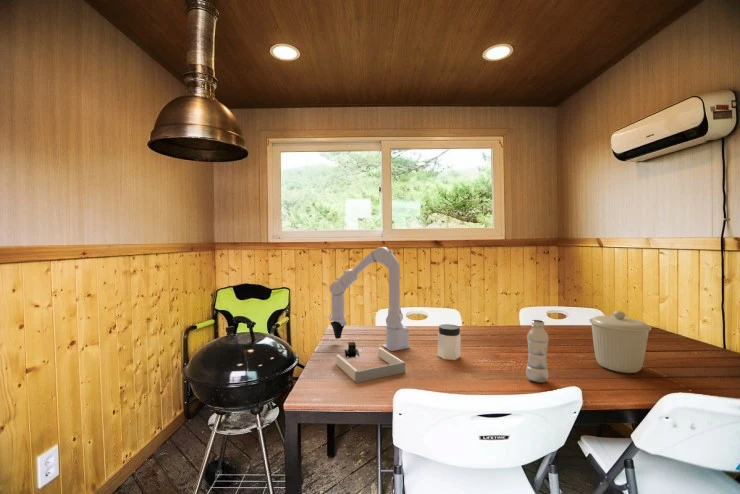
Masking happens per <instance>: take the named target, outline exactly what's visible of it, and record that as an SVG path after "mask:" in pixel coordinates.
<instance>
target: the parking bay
mask: <svg viewBox="0 0 740 494" xmlns="http://www.w3.org/2000/svg"><path fill="white" fill-rule="evenodd" d="M377 349H378V351H377V353H378V358H380V359H381V360H383V361H384V362H386V363H387V364H384V365H380V366H374V367H370V368H364V369H360V370H359V369H357V368H355V366H353V365H352V363H351V364H350V363H349V362H348V361H347V360H346V359H345V358H344V357H342V355H340V354H338V353H337V354H335V361H336V362H335V364H336V365H337V366H338V367H339V368H340V369H341V370H342V371H343V372H344V373H345V374H346V375H347V376H348V377H350V378H351V379H352V380H353V381H354V382H355V384H357V383H362V382H366V381H371V380H375V379H381V378H384V377H389V376H390V377H391V376H395V375H399V374H403V373H406V362H405V361H403V360H401V359H400V358H398V357H397V356H395V355H393V354H392V353H390V352H389V351H387V349H386V350H385V349H384V348H382V347H378V348H377Z"/></svg>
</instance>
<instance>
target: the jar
mask: <svg viewBox="0 0 740 494" xmlns="http://www.w3.org/2000/svg"><path fill="white" fill-rule="evenodd" d="M461 337H462V335H461V329H460V326H458V325H455V324H450V323H444V324H440V325H438V332H437V356H438V357H439V358H441V359H442V360H449V361H457V360H458V359H459V358H460V357H461V343H462V342H461Z"/></svg>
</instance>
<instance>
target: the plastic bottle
mask: <svg viewBox="0 0 740 494" xmlns="http://www.w3.org/2000/svg"><path fill="white" fill-rule="evenodd" d="M545 327H546V326H545V321H544V320H541V319H533V320H531V328H530V329H529V331H528V332H527V335H526V339H527V346H528V358H527V365H526V368H525V374H526V378H527V379H528V380H530V381H532V382H535V383H545V382H547V380H548V377H549V371H548V369H549V368H548V364H547V363H548V361H547V356H548V355H547V354H548V347H549V346H548V345H549V342H550V338H549V334H548V333H547V331H546V330H545Z"/></svg>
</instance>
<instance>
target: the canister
mask: <svg viewBox="0 0 740 494" xmlns="http://www.w3.org/2000/svg"><path fill="white" fill-rule="evenodd" d="M588 320H589V323H590V324H591V331H592V332H591V333H592V334H591V335H592V341H593V349H594V350H593V351H594V355H595V356H594V357H595V360H596V362H597V363H598V364H599V366H601V367H602V368H605V369H607V370H609V371H613V372H617V373H624V374H634V373H638V372H639V371H641V369H642V368H643V364H644V361H645V356H646V350H647V345H648V338H649V332H650V331H651V330H652V327H651V325H648V324H647V323H645V322H644V321H642V320H639V319H635V318H631V317H627V316H626V313H625V312H624V311H622V310H614V311H613V315H597V316H594V317H592V318H590V319H588Z"/></svg>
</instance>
